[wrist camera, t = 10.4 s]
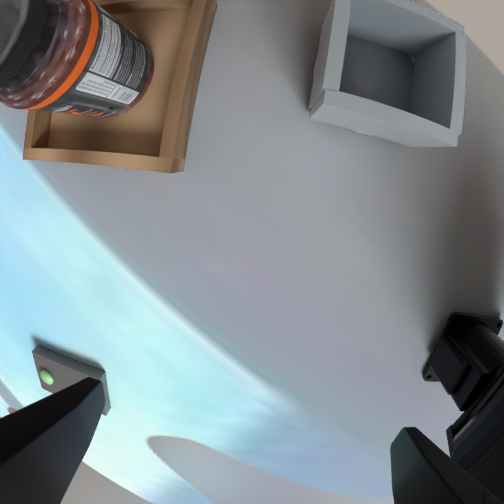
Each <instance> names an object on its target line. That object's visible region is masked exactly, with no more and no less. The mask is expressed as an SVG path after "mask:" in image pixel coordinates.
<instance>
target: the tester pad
mask: <svg viewBox="0 0 504 504" xmlns="http://www.w3.org/2000/svg"><path fill="white" fill-rule="evenodd" d="M32 353H33V357H34V361H35V365H36V369H37V372H38V376H39V379H40V382H41V386H42V388H43V389H45V390H47V391H49V392H51V393H56V392H58V391H60V390H62V389H64V388H66V387H68V386H70V385H72V384H74V383H76V382H78V381H80V380H82V379H84V378H86V377H89V376H91V377H94V378H97V379H100V380H101V381H102V382H103V386H104V392H105V398H106V403H105V407H104V409H103V412H102V414H103V415H107V413H108V411H109V410H110V408H111V407H110V401H109V395H108V388H107V381H106V374H105V371H102V370H99V369H97V368H94V367H91V366H88V365H86V364H83V363H80V362H78V361H75V360H73V359H70V358H68V357H65V356H63V355H60V354H58V353H55V352H53V351H51V350H48V349H46V348H44V347H42V346H39V345H38V346H37V347H36V348H35V349H34V350H33V351H32Z"/></svg>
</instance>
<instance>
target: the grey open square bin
mask: <svg viewBox="0 0 504 504" xmlns="http://www.w3.org/2000/svg"><path fill="white" fill-rule="evenodd" d="M408 55H410V56H413V57H415V59H414V64H413V62H412V61H411V59H410V58H409V57H408ZM466 69H467V37H466V36H464V26H463V25H461V24H460V23H458V22H456V21H454V20H452V19H450V18H448V17H446V16H444V15H442V14H440V13H438V12H436V11H434V10H431V9H429V8H427V7H425V6H422V5H420V4H418V3H415V2H413V1H411V0H332V2H331V4H330V7H329V10H328V12H327V15H326V18H325V20H324V23H323V26H322V29H321V35H320V42H319V48H318V54H317V59H316V61H315V64H314V68H313V84H312V90H311V95H310V101H309V107H308V108H309V109H311V110H310V116H309V119H310V120H314V121H319V122H323V123H327V124H331V125H335V126H340V127H343V128H346V129H348V130H350V131H352V132H355V133H358V134H361V135H366V136H376V137H379V138H383V139H386V140H389V141H392V142H396V143H399V144H402V145H405V146H408V147H411V148H417V147H457V143H458V136H459V135H461V132H462V124H463V115H464V104H465V91H466Z"/></svg>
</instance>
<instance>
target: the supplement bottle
mask: <svg viewBox="0 0 504 504" xmlns="http://www.w3.org/2000/svg"><path fill="white" fill-rule="evenodd" d="M153 73H154V58H153V54H152V52H151V50H150V48H149V47H148V45H147V44H146V43H145V42H144V41H143V40H142V39H141V38H140V37H139V36H137V35H136V34H135V33H134V32H133V31H131V30H130V29H129V28H127V27H126V26H125V25H124V24H122V23H121V22H120V21H119V20H117V19H116V18H115V17H113V16H112V15H111V14H109V13H108V12H107V11H105V10H104V9H103V8H101V7H100V6H98V5H97V4H96V3H94V2H93V1H92V0H0V102H2V103H3V104H5V105H6V106H8V107H12V108H16V109H27V110H35V111H46V112H57V113H65V114H73V115H81V116H86V117H93V118H110V117H115V116H118V115H120V114H123V113H126V112H127V111H128V110H130V109H131V108H133V107H134V106H135V105H136V104H137V103H138V102H139V101H140V100H141V99H142V98H143V96H144V94H145V93H146V92H147V90H148V88H149V86H150V84H151V80H152V78H153Z"/></svg>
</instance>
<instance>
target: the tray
mask: <svg viewBox="0 0 504 504" xmlns="http://www.w3.org/2000/svg"><path fill="white" fill-rule="evenodd" d="M92 1H93V2H94V3H96V4H97V5H98V6H100V7H101V8H103V9H104V10H105V11H107V12H108V13H109V14H111V15H112V16H113V17H115V18H116V19H117V20H119V21H120V22H121V23H122V24H124V25H125V26H126V27H127V28H129V29H130V30H131V31H133V32H134V33H135V34H136V35H137V36H139V37H140V38H141V39H142V40H143V41H144V42H145V43H146V44H147V45H148V47H149V48H150V50H151V52H152V54H153V58H154V73H153V78H152V80H151V84H150V86H149V88H148V90H147V92H146V93H145V94H144V96H143V98H142V99H141V100H140V101H139V102H138V103H137V104H136V105H135V106H134V107H133V108H131V109H130V110H128V111H127V112H126V113H123V114H120V115H118V116H115V117H110V118H93V117H86V116H81V115H73V114H65V113H57V112H46V111H35V110H29V112H28V119H27V126H26V133H25V142H24V152H23V159H25V160H43V161H58V162H71V163H83V164H94V165H104V166H114V167H123V168H132V169H140V170H148V171H156V172H164V173H176V172H182V171H183V170H184V163H185V156H186V150H187V144H188V138H189V132H190V126H191V121H192V115H193V110H194V105H195V99H196V94H197V89H198V84H199V80H200V75H201V70H202V66H203V61H204V57H205V52H206V48H207V44H208V39H209V35H210V31H211V27H212V23H213V19H214V16H215V12H216V8H217V3H216V1H215V0H92Z"/></svg>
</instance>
